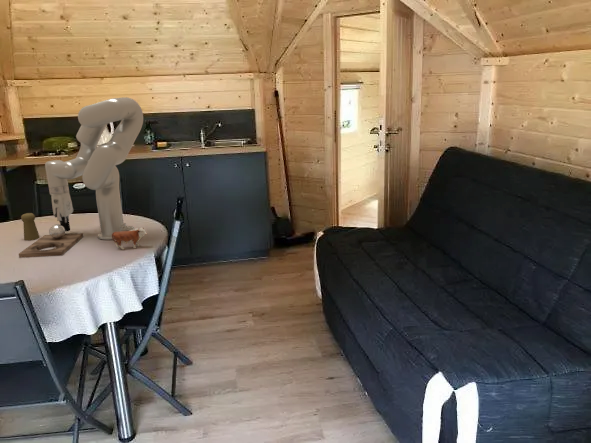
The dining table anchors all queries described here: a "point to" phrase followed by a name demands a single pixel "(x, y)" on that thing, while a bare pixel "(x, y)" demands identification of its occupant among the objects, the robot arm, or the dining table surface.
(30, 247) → the board
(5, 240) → the dining table surface
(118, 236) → the bull figurine
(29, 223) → the cork
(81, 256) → the dining table surface
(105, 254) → the dining table surface
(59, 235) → the ball
